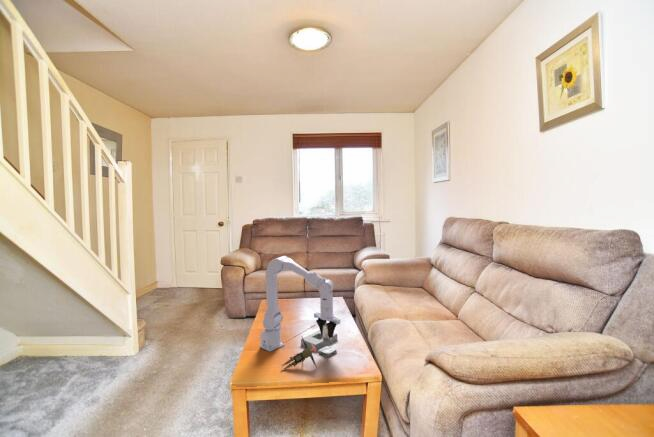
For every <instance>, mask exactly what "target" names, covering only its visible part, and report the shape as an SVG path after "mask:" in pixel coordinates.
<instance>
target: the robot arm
mask: <svg viewBox="0 0 654 437" xmlns="http://www.w3.org/2000/svg"><path fill="white" fill-rule="evenodd" d="M283 271H285V272H286V271H287V272H288V271H292V272H293V273H295V274H297V275H298V276H301V277H303V278H304V280H305V282H306V283H307V284H309V285H310V286H312V287H314V288H315V289H317V291H318V292H319V294H320V296H319V297H320V298H319V300H320V301H319V302H320V304H319V306H320V309H319V310H320V312H316V311H315V312H314V313H313V318H316V320H315V322H316V325H317V326H318V328H319V331H320V332H321V335H323V324H324V323H327V324H326V325H327V328H328V336H329V338H331V337H333V333H335V330H336V328H337V325H340V324H341V318H338V317H337V316H335V315H334V305H333V304H334V298H333V290H334V288H335V284H334V281H332V280H331V279H329V278H326V277H322V276H321V275H319V274H318V272H317V271H308V270H307V269H305V268H304V267H302V266H301V265H300V264H298V263H297V262H295V261H294V260H293V259H292V258H290V257H288V256H287V255H282V256H280V257H276V258H273V259H271V260H270V261H269V262H268V266H267V268H266V271H265V290H266V291H265V292H266V294H265V295H266V310H265V312H264V315H263V320H262V325H263V328H264V329H263V331H261V333H260V337H259V338H260V340H259V341H260V345H259V348H261V349H263V350H265V351H268V352H273V351H274V350H277V349H279V348H281V347H283V346H285V344H286V343H284V342H281V341H282V337H281V334H282V333H281V332H282V331H281V330H282V329H281V324H282V322H283V319H284V317H283V314H282V310H281V308H280V307H279V297H278V296H279V295H278V294H279V293H278V275H279V274H281V273H282V272H283ZM283 343H284V344H283ZM281 344H282V345H281ZM279 345H280V346H279ZM278 346H279V347H278ZM276 347H277V348H276Z"/></svg>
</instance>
